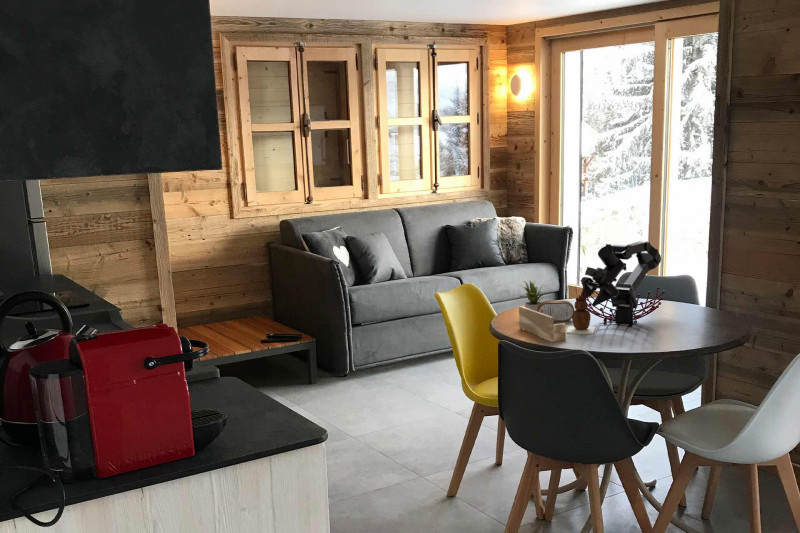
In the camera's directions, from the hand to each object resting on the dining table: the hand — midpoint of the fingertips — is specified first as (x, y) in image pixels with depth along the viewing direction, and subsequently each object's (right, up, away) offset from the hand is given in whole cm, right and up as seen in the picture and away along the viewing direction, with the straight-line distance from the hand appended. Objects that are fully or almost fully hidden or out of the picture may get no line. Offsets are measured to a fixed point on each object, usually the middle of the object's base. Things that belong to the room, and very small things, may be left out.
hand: (586, 303), depth 302 cm
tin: (-8, -8, +19) cm, 22 cm away
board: (-2, -10, 0) cm, 11 cm away
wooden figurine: (-2, -10, 0) cm, 10 cm away
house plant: (-17, -7, +28) cm, 33 cm away
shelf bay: (-17, -11, -2) cm, 21 cm away
